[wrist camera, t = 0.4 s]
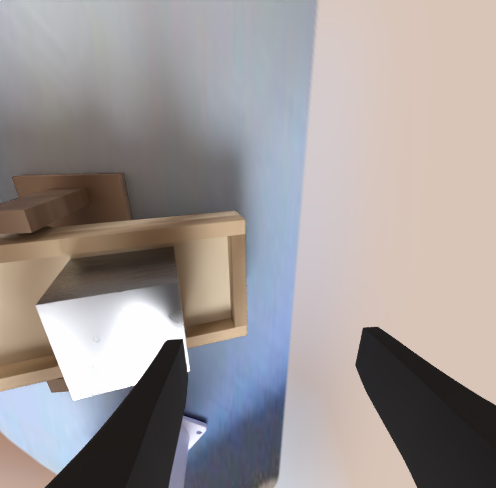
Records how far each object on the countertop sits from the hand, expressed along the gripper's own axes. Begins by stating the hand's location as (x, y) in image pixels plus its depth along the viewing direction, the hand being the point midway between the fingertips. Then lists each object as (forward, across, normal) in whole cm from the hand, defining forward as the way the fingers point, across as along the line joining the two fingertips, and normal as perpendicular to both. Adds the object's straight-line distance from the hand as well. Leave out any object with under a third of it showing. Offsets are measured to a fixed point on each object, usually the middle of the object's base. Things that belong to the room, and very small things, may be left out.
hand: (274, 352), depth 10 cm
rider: (+5, +7, 0) cm, 9 cm away
